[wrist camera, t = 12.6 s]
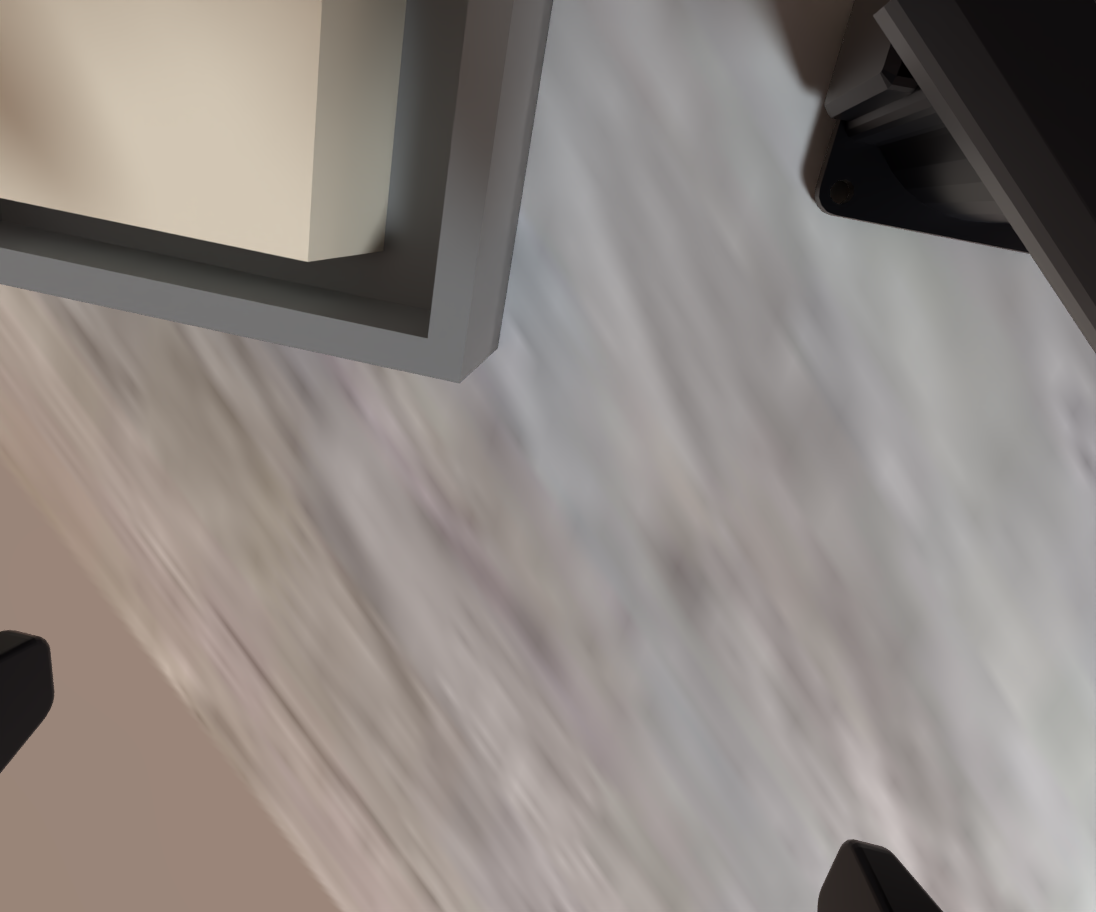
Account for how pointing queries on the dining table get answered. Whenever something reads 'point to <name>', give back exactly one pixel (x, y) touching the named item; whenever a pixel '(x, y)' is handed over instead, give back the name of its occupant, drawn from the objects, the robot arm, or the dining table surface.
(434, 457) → the dining table surface
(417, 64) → the tray
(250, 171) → the cream beveled block
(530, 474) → the dining table surface
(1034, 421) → the dining table surface
